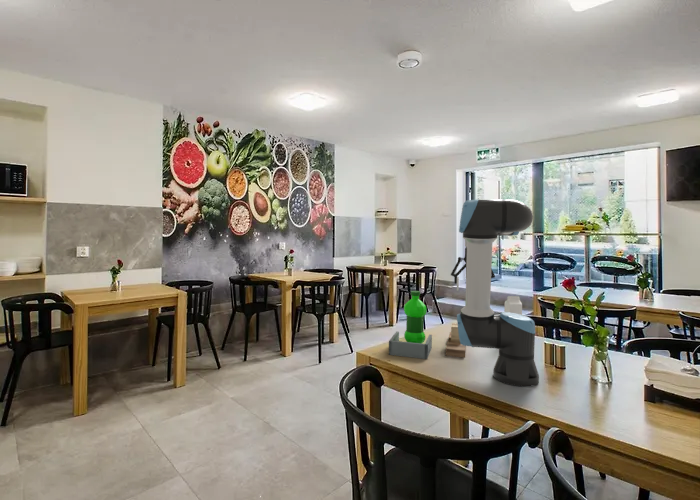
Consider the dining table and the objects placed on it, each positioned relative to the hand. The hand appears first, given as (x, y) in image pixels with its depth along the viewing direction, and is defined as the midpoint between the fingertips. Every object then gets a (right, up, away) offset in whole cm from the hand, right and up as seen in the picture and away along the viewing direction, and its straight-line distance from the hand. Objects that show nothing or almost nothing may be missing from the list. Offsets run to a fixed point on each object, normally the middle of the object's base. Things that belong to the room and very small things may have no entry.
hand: (472, 291), depth 180 cm
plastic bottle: (-29, -25, -5) cm, 38 cm away
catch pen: (-32, -25, -15) cm, 43 cm away
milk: (+20, -25, +1) cm, 31 cm away
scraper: (-10, -25, -8) cm, 28 cm away
